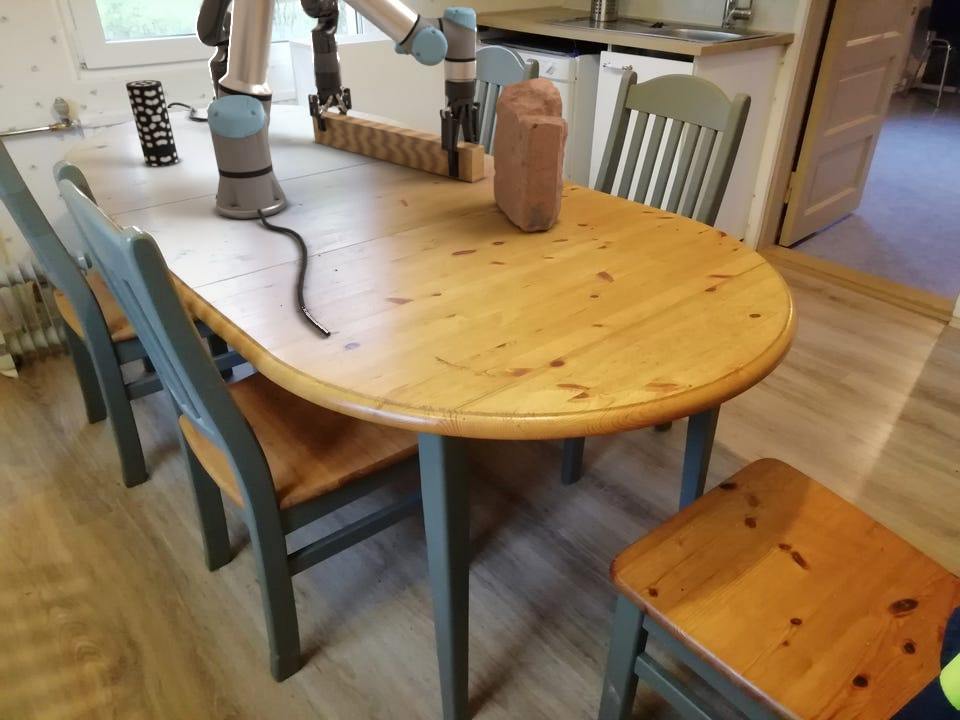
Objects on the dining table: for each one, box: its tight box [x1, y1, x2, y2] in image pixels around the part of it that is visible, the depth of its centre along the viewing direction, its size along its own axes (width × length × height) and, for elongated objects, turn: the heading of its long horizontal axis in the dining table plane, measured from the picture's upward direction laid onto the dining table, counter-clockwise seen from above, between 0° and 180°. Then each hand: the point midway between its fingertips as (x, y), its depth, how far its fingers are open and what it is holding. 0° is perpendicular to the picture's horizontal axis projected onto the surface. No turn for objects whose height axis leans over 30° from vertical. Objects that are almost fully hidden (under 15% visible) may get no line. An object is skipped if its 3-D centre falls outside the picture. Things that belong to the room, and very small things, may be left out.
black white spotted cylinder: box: [125, 79, 179, 167], centre depth 181 cm, size 8×8×20 cm
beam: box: [311, 110, 485, 183], centre depth 189 cm, size 59×5×8 cm, turn 53°
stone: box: [493, 77, 569, 232], centre depth 148 cm, size 22×11×28 cm, turn 18°
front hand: (460, 173), depth 179 cm, fingers closed on beam, 5 cm apart
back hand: (333, 128), depth 201 cm, fingers open, 7 cm apart
